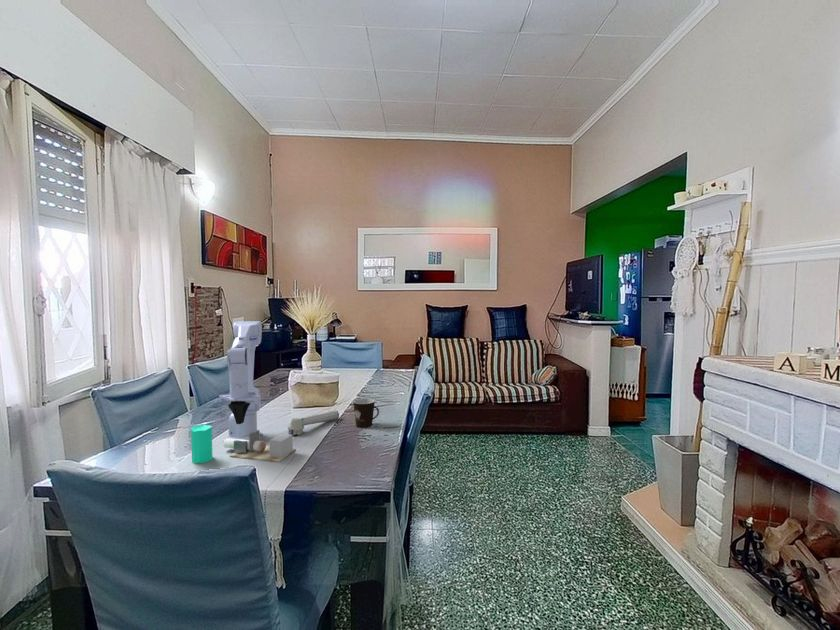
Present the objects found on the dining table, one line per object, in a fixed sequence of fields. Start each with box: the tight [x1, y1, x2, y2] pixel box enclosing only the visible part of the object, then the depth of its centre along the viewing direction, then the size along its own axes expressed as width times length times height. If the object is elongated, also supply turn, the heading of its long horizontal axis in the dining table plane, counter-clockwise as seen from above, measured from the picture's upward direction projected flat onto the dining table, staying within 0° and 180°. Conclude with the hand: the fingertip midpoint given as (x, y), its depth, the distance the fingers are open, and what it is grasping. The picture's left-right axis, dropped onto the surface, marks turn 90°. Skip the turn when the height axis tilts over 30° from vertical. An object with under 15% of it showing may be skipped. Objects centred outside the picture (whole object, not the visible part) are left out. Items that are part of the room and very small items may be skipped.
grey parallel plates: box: [233, 435, 249, 454], centre depth 137 cm, size 4×6×4 cm
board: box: [229, 445, 297, 463], centre depth 136 cm, size 18×10×1 cm, turn 76°
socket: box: [269, 433, 294, 458], centre depth 134 cm, size 4×6×6 cm
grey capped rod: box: [287, 410, 340, 436], centre depth 163 cm, size 5×7×25 cm
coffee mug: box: [352, 397, 380, 429], centre depth 163 cm, size 12×9×10 cm
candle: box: [190, 422, 214, 464], centre depth 130 cm, size 6×6×12 cm
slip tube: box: [223, 429, 267, 452], centre depth 137 cm, size 14×4×6 cm, turn 76°
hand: (240, 423), depth 137 cm, fingers closed
